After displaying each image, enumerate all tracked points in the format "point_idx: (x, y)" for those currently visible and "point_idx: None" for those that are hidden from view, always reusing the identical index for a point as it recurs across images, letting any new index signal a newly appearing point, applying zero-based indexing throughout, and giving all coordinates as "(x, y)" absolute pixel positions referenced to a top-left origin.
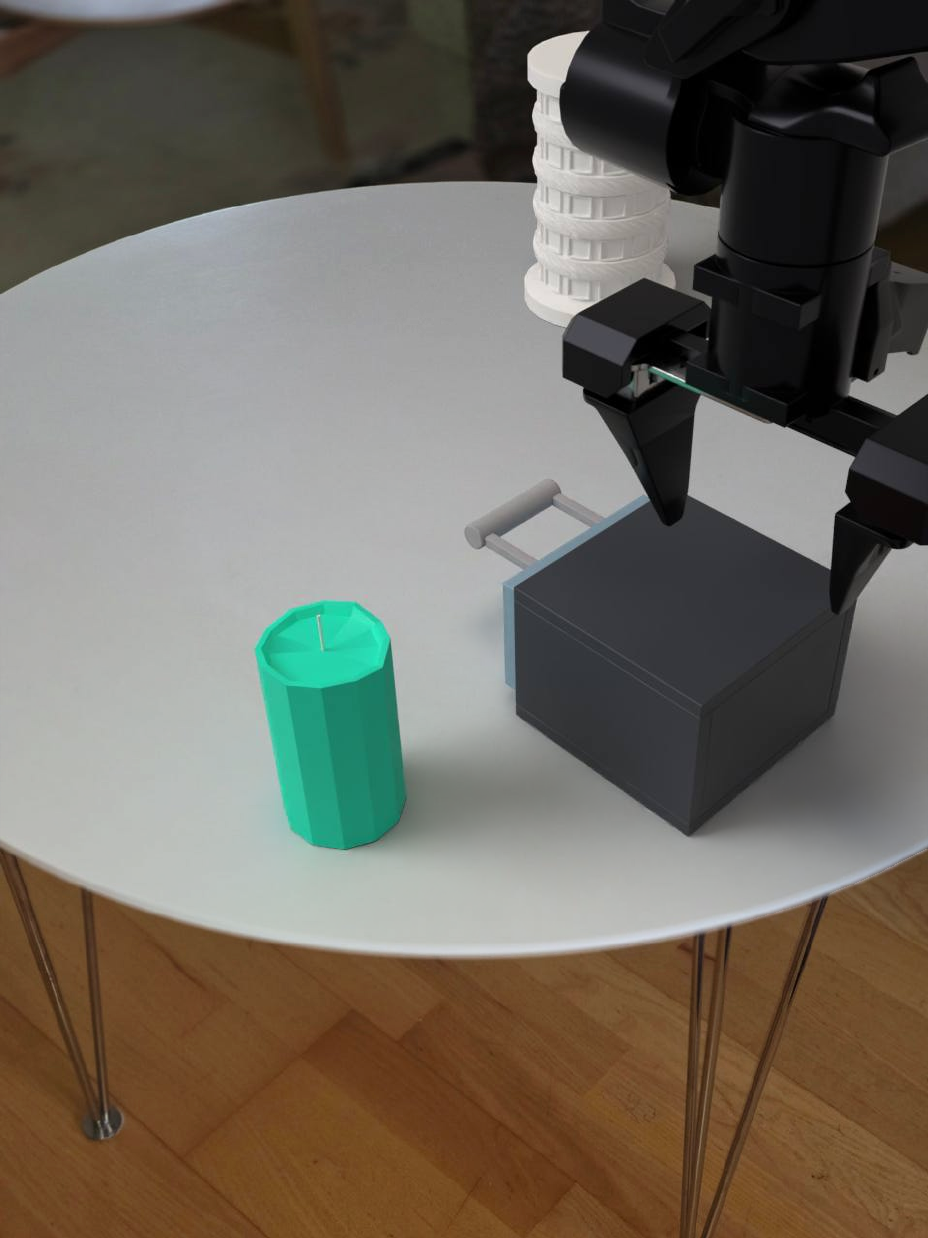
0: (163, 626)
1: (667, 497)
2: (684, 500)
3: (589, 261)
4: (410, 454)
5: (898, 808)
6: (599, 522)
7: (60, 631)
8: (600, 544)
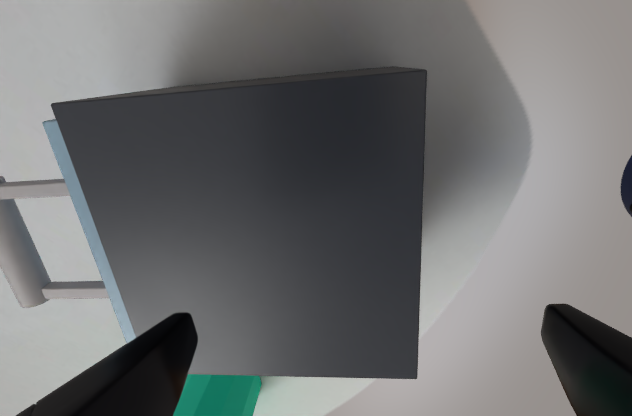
0: (22, 364)
1: (167, 403)
2: (172, 337)
3: None
4: None
5: (509, 120)
6: (77, 211)
7: (5, 399)
8: (128, 270)
